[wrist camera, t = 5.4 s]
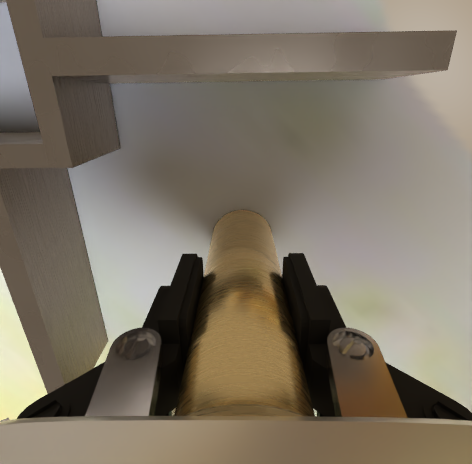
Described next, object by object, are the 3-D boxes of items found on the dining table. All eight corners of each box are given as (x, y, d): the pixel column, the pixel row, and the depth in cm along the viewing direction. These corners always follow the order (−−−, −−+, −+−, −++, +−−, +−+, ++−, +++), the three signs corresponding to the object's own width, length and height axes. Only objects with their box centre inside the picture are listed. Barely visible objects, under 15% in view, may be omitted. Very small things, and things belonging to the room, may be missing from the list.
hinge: (400, -31, 12) (488, -102, 8) (340, 340, 19) (367, 406, 15) (-74, -21, 12) (-239, -86, 8) (49, 341, 19) (-3, 406, 15)
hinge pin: (281, 202, 15) (381, 454, 4) (277, 270, 17) (345, 579, 6) (203, 202, 16) (111, 452, 5) (207, 270, 17) (146, 576, 6)
